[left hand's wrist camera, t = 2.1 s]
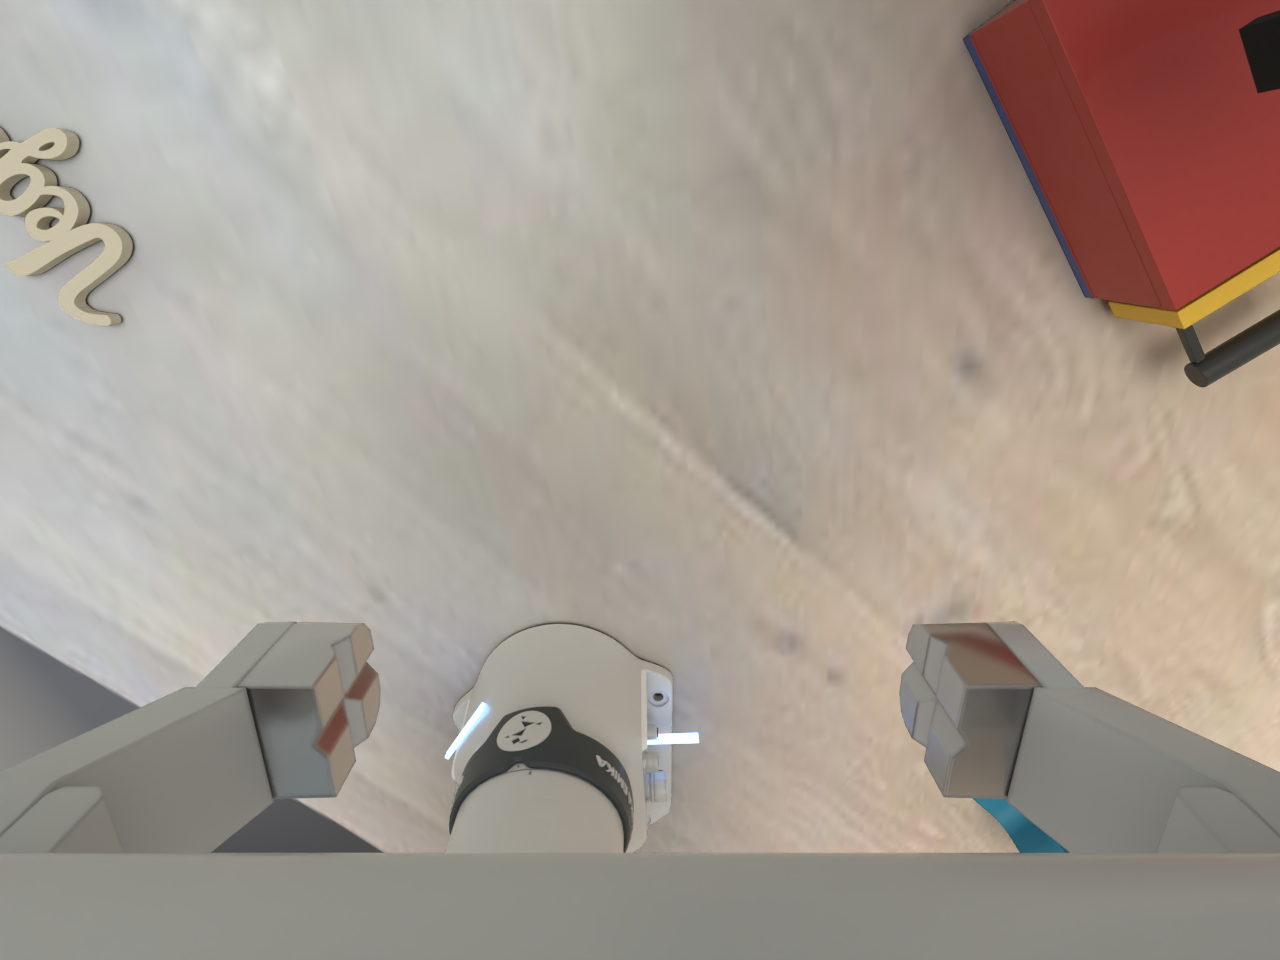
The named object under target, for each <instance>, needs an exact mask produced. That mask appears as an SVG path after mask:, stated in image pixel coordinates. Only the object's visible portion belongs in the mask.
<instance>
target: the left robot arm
mask: <svg viewBox="0 0 1280 960" xmlns="http://www.w3.org/2000/svg"><path fill="white" fill-rule="evenodd" d="M373 650H374V646H373V641H372V636H371V631H370V629H369V628H368V627H367V626H366V625H365V624H364V623H319V622H299V623H297V622H265V623H261V624H257V625H256V627H255V628H254V629H253V630H252V631H251V632H250V633H249V634H248V635H247V636H246V637H245V638H244V639H243V640H242V641H241V642H240V643H239V644H238V645H237V646H236V647H235V648H234V649H233V650H232V651H231V652H230V653H229V654H228V655H227V656H226V657H225V658H224V659H223V660H222V661H221V662H220V663H219V664H218V665H217V666H216V667H215V668H214V669H213V670H212V671H211V672H210V673H209V674H208V675H207V676H206V677H205V679H204V680H203V681H202V682H201V683H200V684H199V685H198V686H197V687H186V688H182V689H180V690H178V691H176V692H174V693H171V694H169V695H167V696H165V697H163V698H161V699H158V700H156V701H154V702H152V703H150V704H147V705H145V706H143V707H141V708H139V709H137V710H134V711H132V712H130V713H128V714H126V715H123V716H121V717H119V718H117V719H115V720H113V721H110V722H108V723H106V724H104V725H102V726H99V727H97V728H95V729H93V730H91V731H89V732H86V733H84V734H82V735H80V736H78V737H75V738H73V739H71V740H69V741H67V742H65V743H62V744H60V745H58V746H56V747H54V748H52V749H49V750H47V751H45V752H43V753H41V754H38V755H36V756H34V757H32V758H30V759H28V760H25V761H23V762H21V763H19V764H17V765H14V766H12V767H10V768H8V769H6V770H4V771H1V772H0V960H1280V772H1278V771H1276V770H1274V769H1272V768H1269V767H1267V766H1265V765H1263V764H1261V763H1259V762H1256V761H1254V760H1252V759H1250V758H1248V757H1246V756H1243V755H1241V754H1239V753H1237V752H1235V751H1233V750H1230V749H1228V748H1226V747H1224V746H1222V745H1219V744H1217V743H1215V742H1213V741H1211V740H1209V739H1206V738H1204V737H1202V736H1200V735H1198V734H1196V733H1193V732H1191V731H1189V730H1187V729H1185V728H1182V727H1180V726H1178V725H1176V724H1174V723H1172V722H1169V721H1167V720H1165V719H1163V718H1161V717H1159V716H1156V715H1154V714H1152V713H1150V712H1148V711H1146V710H1143V709H1141V708H1139V707H1137V706H1135V705H1132V704H1130V703H1128V702H1126V701H1124V700H1122V699H1119V698H1117V697H1115V696H1113V695H1111V694H1109V693H1106V692H1104V691H1102V690H1100V689H1098V688H1095V687H1083V686H1082V685H1081V684H1080V683H1079V682H1078V680H1077V679H1076V678H1075V677H1074V676H1073V675H1072V674H1071V673H1070V672H1069V671H1068V670H1067V669H1066V668H1065V667H1064V666H1063V665H1062V664H1061V663H1060V662H1059V661H1058V660H1057V659H1056V658H1055V657H1054V656H1053V655H1052V654H1051V653H1050V652H1049V651H1048V650H1047V649H1046V648H1045V647H1044V646H1043V645H1042V644H1041V643H1040V642H1039V641H1038V640H1037V639H1036V638H1035V637H1034V635H1033V634H1032V633H1031V632H1030V631H1029V630H1028V629H1027V628H1026V627H1025V626H1024V625H1022V624H1019V623H1017V622H1014V621H1012V622H985V623H956V624H917V625H913V626H912V628H911V630H910V632H909V634H908V640H907V645H906V650H907V651H908V653H909V654H910V656H911V658H912V659H913V661H914V662H913V663H912V664H911V665H910V666H909V667H908V668H907V669H906V670H905V671H904V672H903V673H902V677H901V685H900V704H901V712H902V716H903V719H904V722H905V725H906V727H907V729H908V731H909V733H910V735H911V737H912V738H913V739H914V740H916V741H917V742H918V743H920V744H921V745H923V746H924V747H926V753H925V759H924V762H925V763H926V765H927V767H928V769H929V771H930V773H931V774H932V776H933V778H934V780H935V782H936V784H937V786H938V787H939V789H940V791H941V793H942V795H943V797H955V798H991V799H1007V801H1006V802H1007V803H1009V804H1010V805H1011V806H1012V807H1014V808H1015V809H1016V810H1017V811H1019V812H1020V813H1021V814H1022V815H1024V816H1025V817H1026V818H1027V819H1029V820H1030V821H1031V822H1032V823H1034V824H1035V825H1036V826H1037V827H1039V828H1040V829H1041V830H1042V831H1043V832H1045V833H1046V834H1047V835H1048V836H1050V837H1051V838H1052V839H1053V840H1055V841H1056V842H1057V843H1058V844H1060V845H1061V846H1062V847H1063V848H1065V849H1066V850H1067V851H1068V852H1070V853H634V852H635V851H637V850H638V849H639V848H641V847H642V846H643V844H644V843H645V842H646V840H647V826H649V825H651V824H653V823H654V822H656V821H658V820H659V819H661V818H662V817H664V816H665V815H666V814H667V813H668V812H669V811H670V808H671V793H672V744H679V743H699V738H698V733H676V734H672V722H673V677H672V675H671V673H670V672H669V671H668V670H666V669H665V668H663V667H661V666H658V665H656V664H653V663H650V662H647V661H644V660H640V659H639V658H637V657H636V656H634V655H633V654H632V653H630V652H629V651H628V650H627V649H626V648H625V647H623V646H622V645H621V644H620V643H618V642H617V641H615V640H614V639H612V638H611V637H609V636H607V635H605V634H603V633H601V632H598V631H596V630H593V629H590V628H587V627H583V626H578V625H571V624H548V625H541V626H536V627H532V628H529V629H526V630H523V631H521V632H519V633H516V634H515V635H513V636H511V637H509V638H508V639H506V640H505V641H503V642H502V643H501V644H500V645H499V646H497V647H496V648H495V649H494V650H493V652H492V653H491V654H490V655H489V657H488V658H487V659H486V661H485V663H484V665H483V667H482V669H481V672H480V674H479V677H478V680H477V682H476V684H475V686H474V687H473V689H471V690H470V691H469V692H468V693H467V694H466V695H465V696H463V697H462V698H461V699H460V700H459V702H458V703H457V704H456V706H455V709H454V713H453V721H454V723H455V725H456V727H457V728H458V730H459V731H460V734H459V736H458V737H457V738H456V740H455V741H454V743H453V744H452V745H451V747H450V748H449V750H448V751H447V753H446V756H445V758H446V759H449V758H450V756H451V755H452V754H453V752H454V751H455V749H456V752H455V757H454V761H453V765H452V771H451V775H452V779H453V780H455V781H456V783H457V788H456V791H455V794H454V798H453V802H452V804H453V805H452V811H451V815H450V822H449V829H450V838H449V842H448V845H447V848H446V851H445V853H210V852H212V851H213V850H214V849H215V848H217V847H218V846H219V845H220V844H222V843H223V842H224V841H225V840H227V839H228V838H229V837H230V836H232V835H233V834H234V833H236V832H237V831H238V830H239V829H241V828H242V827H243V826H244V825H245V824H247V823H248V822H249V821H251V820H252V819H253V818H254V817H255V816H257V815H258V814H259V813H260V812H262V811H263V810H264V809H265V808H267V807H268V806H269V805H270V804H272V803H273V799H289V798H324V797H337V795H338V793H339V791H340V789H341V787H342V786H343V784H344V782H345V780H346V778H347V776H348V775H349V773H350V771H351V769H352V767H353V765H354V763H355V762H356V759H355V753H354V747H356V746H357V745H359V744H360V743H362V742H363V741H364V740H366V739H367V738H368V737H369V735H370V733H371V731H372V729H373V727H374V725H375V723H376V719H377V715H378V710H379V706H380V683H379V676H378V673H377V672H376V671H375V670H374V669H373V668H372V667H371V666H370V665H369V664H368V663H367V662H366V661H367V659H368V658H369V656H370V654H371V653H372V651H373ZM655 693H661V694H662V695H659V696H656V695H654V694H655Z"/></svg>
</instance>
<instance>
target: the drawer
mask: <svg viewBox="0 0 1280 960" xmlns="http://www.w3.org/2000/svg"><path fill="white" fill-rule="evenodd" d="M1278 272H1280V247H1278V248H1276V249H1275V250H1273V251H1272V252H1270V253H1268V254H1267V255H1265V256H1263V257H1262V258H1260V259H1258V260H1257V261H1255V262H1254V263H1252V264H1250V265H1249V266H1247V267H1245V268H1244V269H1242V270H1241V271H1239V272H1237V273H1236V274H1234V275H1232V276H1231V277H1229V278H1228V279H1226V280H1224V281H1223V282H1221V283H1219V284H1218V285H1216V286H1215V287H1213V288H1211V289H1210V290H1208V291H1206V292H1205V293H1203V294H1201V295H1200V296H1198V297H1197V298H1195V299H1193V300H1192V301H1190V302H1188V303H1187V304H1185V305H1184V306H1182V307H1180V308H1179V309H1177V310H1171V309H1164V308H1158V307H1151V306H1144V305H1138V304H1131V303H1124V302H1118V301H1111V300H1110V301H1109V302H1108V303H1109V305H1110V308H1111V310H1112V312H1113V314H1114V316H1115V317H1120V318H1125V319H1131V320H1136V321H1142V322H1147V323H1153V324H1158V325H1164V326H1169V327H1175V328H1176V330H1177V332H1178V334H1179V337H1180V339H1181V341H1182V344H1183V346H1184V348H1185V350H1186V353H1187V355H1188V357H1189V360H1190V362H1191V363H1189V364H1187V365H1186V366H1185V368H1184V371H1185V374H1186V376H1187V377H1188V378H1189V380H1190V381H1191V382H1193V383H1194V384H1195V385H1197V386H1199V387H1206V386H1208V385H1210V384H1211V383H1213V382H1215V381H1217V380H1218V379H1220V378H1222V377H1223V376H1225V375H1227V374H1229V373H1230V372H1232V371H1234V370H1235V369H1237V368H1239V367H1240V366H1242V365H1244V364H1246V363H1247V362H1249V361H1251V360H1252V359H1254V358H1256V357H1258V356H1259V355H1261V354H1263V353H1264V352H1266V351H1268V350H1270V349H1271V348H1273V347H1275V346H1276V345H1278V344H1280V310H1278V311H1276V312H1275V313H1273V314H1271V315H1270V316H1268V317H1266V318H1264V319H1263V320H1261V321H1259V322H1258V323H1256V324H1254V325H1253V326H1251V327H1249V328H1248V329H1246V330H1244V331H1243V332H1241V333H1239V334H1238V335H1236V336H1234V337H1233V338H1231V339H1229V340H1228V341H1226V342H1224V343H1222V344H1221V345H1219V346H1217V347H1216V348H1214V349H1212V350H1211V351H1209V352H1207V353H1206V354H1204V352H1203V350H1202V348H1201V345H1200V343H1199V341H1198V338H1197V336H1196V334H1195V331H1194V329H1193V326H1192V324H1194V323H1196V322H1197V321H1199V320H1200V319H1202V318H1204V317H1205V316H1207V315H1209V314H1210V313H1212V312H1214V311H1215V310H1217V309H1219V308H1220V307H1222V306H1224V305H1225V304H1227V303H1228V302H1230V301H1232V300H1233V299H1235V298H1237V297H1238V296H1240V295H1242V294H1243V293H1245V292H1247V291H1248V290H1250V289H1252V288H1253V287H1255V286H1257V285H1258V284H1260V283H1261V282H1263V281H1265V280H1266V279H1268V278H1270V277H1271V276H1273V275H1275V274H1276V273H1278Z"/></svg>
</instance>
